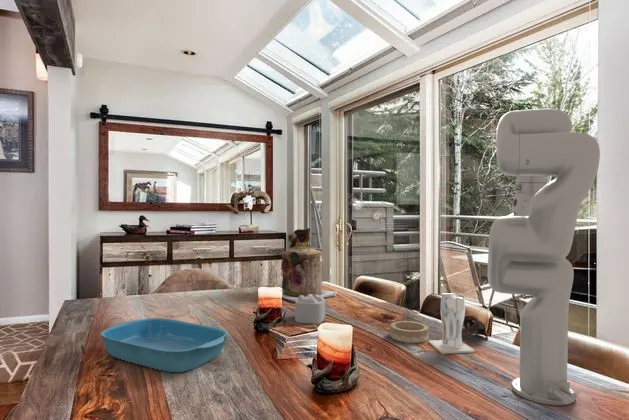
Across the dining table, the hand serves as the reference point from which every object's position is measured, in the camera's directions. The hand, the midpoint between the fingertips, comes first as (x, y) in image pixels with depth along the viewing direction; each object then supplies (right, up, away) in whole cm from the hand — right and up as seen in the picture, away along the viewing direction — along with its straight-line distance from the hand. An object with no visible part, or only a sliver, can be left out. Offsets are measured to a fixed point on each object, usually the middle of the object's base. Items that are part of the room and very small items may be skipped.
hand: (529, 248), depth 123 cm
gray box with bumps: (-64, -30, +35) cm, 79 cm away
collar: (-32, -30, +13) cm, 46 cm away
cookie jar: (-69, -29, +75) cm, 106 cm away
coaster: (-22, -30, +4) cm, 37 cm away
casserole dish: (-104, -30, -5) cm, 109 cm away
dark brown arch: (-12, -30, +14) cm, 36 cm away
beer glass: (-21, -30, +4) cm, 37 cm away
